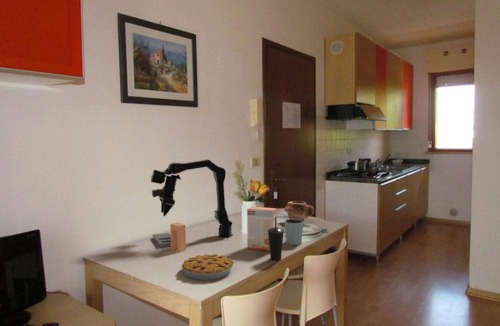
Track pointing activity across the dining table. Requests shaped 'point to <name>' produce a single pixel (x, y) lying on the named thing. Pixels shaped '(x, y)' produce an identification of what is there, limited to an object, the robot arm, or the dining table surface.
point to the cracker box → (259, 227)
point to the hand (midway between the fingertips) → (163, 214)
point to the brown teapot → (298, 210)
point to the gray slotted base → (162, 240)
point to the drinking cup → (275, 242)
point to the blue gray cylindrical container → (293, 231)
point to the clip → (178, 237)
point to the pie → (207, 267)
